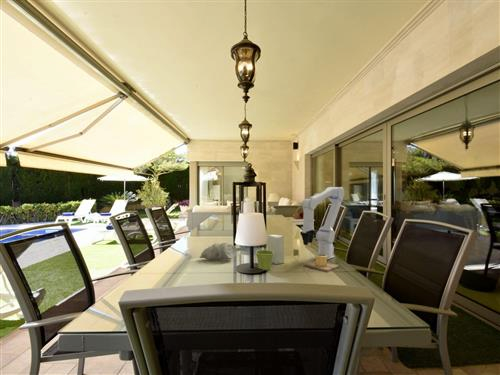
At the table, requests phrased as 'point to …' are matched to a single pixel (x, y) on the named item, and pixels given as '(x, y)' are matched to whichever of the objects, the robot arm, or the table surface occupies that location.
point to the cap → (321, 260)
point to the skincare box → (276, 248)
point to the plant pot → (264, 259)
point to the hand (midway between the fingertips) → (307, 243)
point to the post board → (322, 268)
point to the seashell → (219, 252)
